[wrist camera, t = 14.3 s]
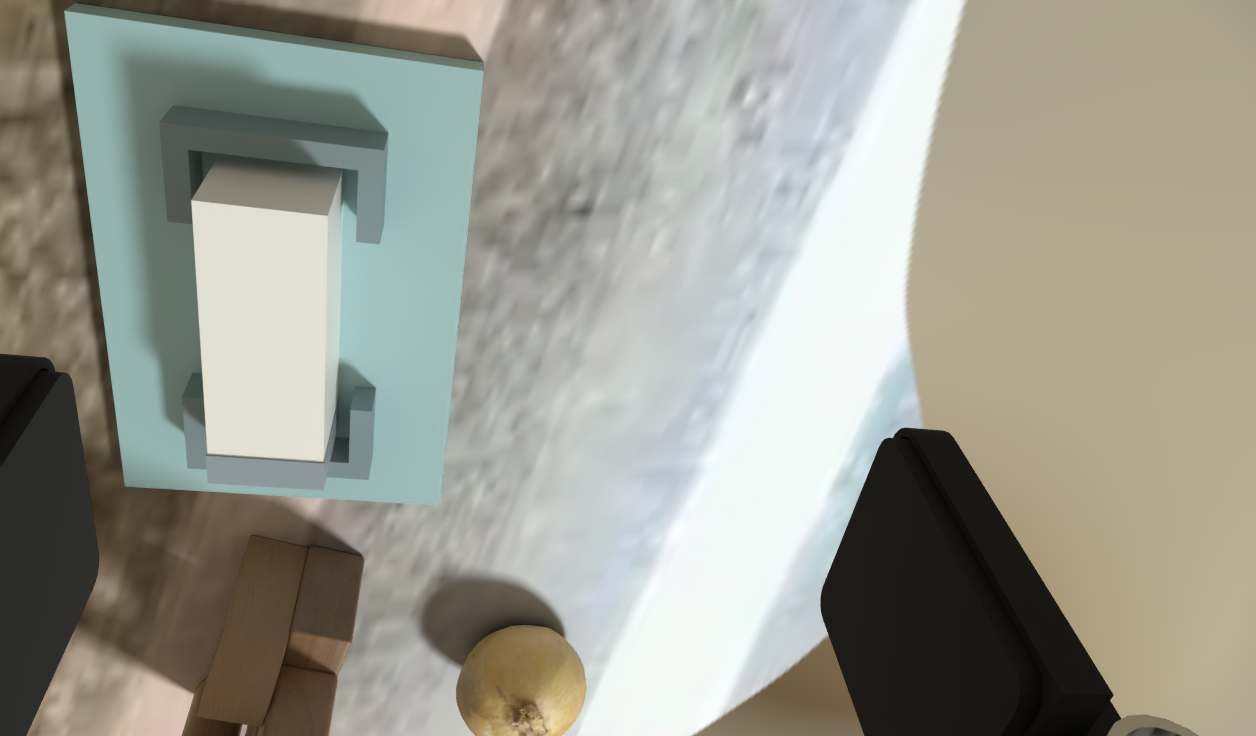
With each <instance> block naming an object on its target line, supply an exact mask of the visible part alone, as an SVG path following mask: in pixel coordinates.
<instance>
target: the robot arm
mask: <svg viewBox="0 0 1256 736" xmlns="http://www.w3.org/2000/svg"><path fill="white" fill-rule="evenodd" d="M98 567H99V550H98V544H97V537H96V531H95V524H94V518H93V511H92V505H91V498H90V492H89V485H88V479H87V472H86V466H85V459H84V453H83V446H82V440H81V433H80V427H79V420H78V414H77V407H76V401H75V394H74V388H73V383H72V379H71V377H70V375H69V374H67V373H63V372H55V369H54V366H53V364H52V362H51V361H50V360H49V359H47V358H45V357H33V356H20V355H8V354H0V736H26V735H27V733H28V731H29V728H30V726H31V724H32V722H33V720H34V717H35V715H36V713H37V711H38V709H39V706H40V704H41V702H42V700H43V698H44V695H45V693H46V691H47V689H48V687H49V684H50V682H51V680H52V678H53V676H54V673H55V671H56V669H57V667H58V665H59V663H60V660H61V658H62V656H63V654H64V652H65V649H66V647H67V645H68V643H69V641H70V638H71V636H72V634H73V632H74V630H75V627H76V625H77V623H78V621H79V619H80V616H81V614H82V612H83V610H84V608H85V605H86V603H87V601H88V599H89V597H90V594H91V592H92V590H93V587H94V585H95V582H96V578H97V574H98ZM821 613H822V617H823V620H824V623H825V626H826V629H827V632H828V635H829V637H830V640H831V643H832V645H833V648H834V651H835V654H836V657H837V660H838V663H839V665H840V668H841V671H842V674H843V677H844V679H845V682H846V685H847V688H848V691H849V693H850V696H851V699H852V702H853V705H854V707H855V710H856V713H857V716H858V719H859V722H860V724H861V727H862V730H863V733H864V735H865V736H1198V735H1197V734H1195V733H1194V732H1192V731H1191V730H1189V729H1187V728H1185V727H1183V726H1180V725H1178V724H1176V723H1174V722H1172V721H1169V720H1167V719H1163V718H1158V717H1154V716H1149V715H1133V716H1127V717H1125V718H1123V719H1121V718H1120V716H1119V714H1118V713H1117V711H1116V709H1115V708H1114V706H1113V704H1112V703H1111V701H1110V700H1111V698H1112V697H1113V693H1112V692H1111V690H1110V689H1109V687H1108V685H1107V684H1106V682H1105V680H1104V679H1103V677H1102V676H1101V674H1100V672H1099V671H1098V669H1097V668H1096V666H1095V664H1094V663H1093V661H1092V659H1091V658H1090V656H1089V655H1088V653H1087V652H1086V650H1085V648H1084V647H1083V645H1082V643H1081V642H1080V640H1079V639H1078V637H1077V635H1076V634H1075V632H1074V631H1073V629H1072V627H1071V626H1070V624H1069V623H1068V621H1067V619H1066V618H1065V616H1064V615H1063V613H1062V611H1061V610H1060V608H1059V606H1058V605H1057V603H1056V602H1055V600H1054V598H1053V597H1052V595H1051V593H1050V592H1049V590H1048V589H1047V587H1046V586H1045V584H1044V582H1043V581H1042V579H1041V577H1040V576H1039V574H1038V573H1037V571H1036V569H1035V568H1034V566H1033V565H1032V563H1031V561H1030V560H1029V559H1028V557H1027V555H1026V553H1025V552H1024V550H1023V548H1022V547H1021V545H1020V544H1019V542H1018V540H1017V539H1016V537H1015V536H1014V534H1013V532H1012V531H1011V529H1010V528H1009V526H1008V524H1007V523H1006V521H1005V519H1004V518H1003V516H1002V515H1001V513H1000V511H999V510H998V508H997V507H996V505H995V503H994V502H993V500H992V499H991V497H990V495H989V494H988V492H987V491H986V489H985V487H984V486H983V484H982V482H981V481H980V480H979V478H978V476H977V474H976V473H975V471H974V470H973V468H972V466H971V465H970V463H969V462H968V460H967V458H966V457H965V455H964V454H963V452H962V450H961V449H960V447H959V446H958V444H957V442H956V441H955V439H954V438H953V437H952V435H950V433H948V432H946V431H940V430H928V429H916V428H902V429H900V430H899V431H898V432H897V433H895V435H894V437H893V438H886V439H884V440H883V441H882V443H881V445H880V446H879V449H878V451H877V454H876V456H875V459H874V461H873V463H872V466H871V468H870V471H869V473H868V476H867V478H866V481H865V483H864V486H863V488H862V491H861V493H860V496H859V498H858V501H857V503H856V506H855V508H854V511H853V513H852V516H851V518H850V521H849V523H848V526H847V528H846V531H845V533H844V536H843V538H842V541H841V543H840V546H839V548H838V550H837V553H836V555H835V558H834V560H833V563H832V565H831V568H830V570H829V573H828V575H827V578H826V580H825V583H824V585H823V588H822V592H821Z"/></svg>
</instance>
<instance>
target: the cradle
mask: <svg viewBox="0 0 1256 736" xmlns="http://www.w3.org/2000/svg"><path fill="white" fill-rule="evenodd" d="M64 13H65V21H66V29H67V37H68V44H69V52H70V60H71V68H72V76H73V84H74V91H75V99H76V107H77V115H78V123H79V131H80V138H81V146H82V154H83V162H84V170H85V178H86V185H87V193H88V201H89V209H90V217H91V225H92V232H93V240H94V248H95V256H96V264H97V271H98V279H99V287H100V295H101V303H102V311H103V318H104V326H105V334H106V342H107V350H108V358H109V365H110V373H111V381H112V389H113V397H114V405H115V412H116V420H117V428H118V436H119V444H120V452H121V459H122V467H123V475H124V483H125V487H141V488H157V489H174V490H191V491H208V492H225V493H241V494H258V495H275V496H292V497H309V498H325V499H342V500H359V501H376V502H393V503H410V504H426V505H440V502H441V492H442V482H443V472H444V462H445V452H446V442H447V432H448V422H449V412H450V402H451V392H452V382H453V372H454V362H455V352H456V342H457V332H458V322H459V312H460V302H461V292H462V282H463V272H464V262H465V252H466V242H467V232H468V222H469V212H470V202H471V192H472V182H473V172H474V162H475V152H476V142H477V132H478V122H479V112H480V102H481V92H482V82H483V72H484V62H478V61H471V60H464V59H457V58H450V57H443V56H436V55H430V54H423V53H416V52H409V51H402V50H395V49H388V48H381V47H374V46H368V45H361V44H354V43H347V42H340V41H333V40H326V39H319V38H313V37H306V36H299V35H292V34H285V33H278V32H271V31H264V30H257V29H251V28H244V27H237V26H230V25H223V24H216V23H209V22H202V21H195V20H189V19H182V18H175V17H168V16H161V15H154V14H147V13H140V12H134V11H127V10H120V9H113V8H106V7H99V6H92V5H85V4H78V3H75V4H73V5H72V6H70V7H69V8H68V9H66V10H65V11H64ZM219 154H228V155H236V156H244V157H252V158H261V159H269V160H277V161H285V162H293V163H302V164H310V165H318V166H326V167H335V168H343V169H344V191H343V228H342V266H341V303H340V341H339V378H338V399H339V417H338V428H337V432H336V437H335V441H334V446H333V451H332V455H331V460H330V464H329V469H328V473H327V478H326V483H325V487H324V491H323V490H307V489H292V488H276V487H260V486H244V485H228V484H212V483H207V467H206V454H207V439H206V423H205V408H204V392H203V376H202V361H201V345H200V329H199V314H198V298H197V282H196V267H195V251H194V235H193V220H192V204H191V200H192V198H193V197H194V195H195V193H196V192H197V190H198V189H199V187H200V185H201V184H202V182H203V180H204V179H205V177H206V176H207V174H208V172H209V171H210V169H211V167H212V166H213V164H214V162H215V161H216V159H217V158H218V156H219Z"/></svg>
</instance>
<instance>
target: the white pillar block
mask: <svg viewBox="0 0 1256 736" xmlns="http://www.w3.org/2000/svg"><path fill="white" fill-rule="evenodd" d="M343 191H344V169H343V168H335V167H326V166H318V165H310V164H302V163H293V162H285V161H277V160H269V159H261V158H252V157H244V156H236V155H228V154H219V156H218V158H217V159H216V161H215V162H214V164H213V166H212V167H211V169H210V171H209V172H208V174H207V176H206V177H205V179H204V180H203V182H202V184H201V185H200V187H199V189H198V190H197V192H196V193H195V195H194V197H193V198H192V200H191V204H192V220H193V235H194V251H195V267H196V282H197V298H198V314H199V329H200V345H201V361H202V376H203V392H204V408H205V423H206V439H207V454H206V467H207V483H212V484H228V485H244V486H260V487H276V488H292V489H307V490H323V491H324V487H325V483H326V478H327V473H328V469H329V464H330V460H331V455H332V451H333V446H334V441H335V437H336V432H337V428H338V417H339V399H338V378H339V341H340V303H341V266H342V228H343Z"/></svg>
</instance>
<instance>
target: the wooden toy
mask: <svg viewBox="0 0 1256 736" xmlns="http://www.w3.org/2000/svg"><path fill="white" fill-rule="evenodd" d="M363 567H364V558H363V557H362V556H358V555H353V554H349V553H345V552H340V551H336V550H331V549H327V548H322V547H318V546H311V547H310V548H309V549H308V548H307V547H302V546H298V545H294V544H289V543H285V542H281V541H276V540H272V539H267V538H262V537H258V536H253V535H251V537H250V540H249V543H248V546H247V549H246V552H245V555H244V558H243V561H242V565H241V568H240V571H239V574H238V577H237V581H236V584H235V587H234V591H233V594H232V597H231V600H230V604H229V607H228V610H227V614H226V617H225V621H224V624H223V627H222V631H221V634H220V637H219V641H218V644H217V648H216V651H215V654H214V658H213V661H212V664H211V668H210V671H209V675H208V678H207V679H205V680H204V681H202V682H201V683H200V684H199V685H198V687H197V689H196V691H195V694H194V697H193V700H192V704H191V707H190V710H189V714H188V717H187V720H186V723H185V727H184V730H183V733H182V736H240V733H241V729H242V725H243V724H245V725H248V726H247V730H246V734H245V736H329V731H330V725H331V719H332V713H333V707H334V700H335V694H336V688H337V682H338V680H337V677H338V674H339V672H340V670H341V667H342V665H343V662H344V660H345V658H346V655H347V653H348V651H349V648H350V646H351V644H352V639H353V633H354V626H355V620H356V613H357V607H358V600H359V594H360V587H361V581H362V574H363Z"/></svg>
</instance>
